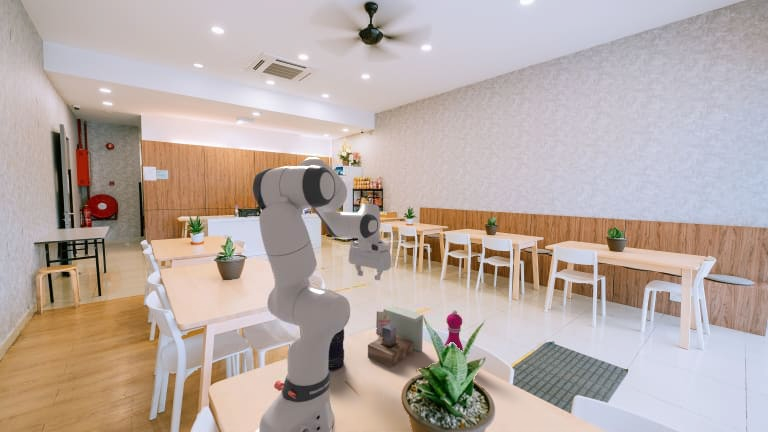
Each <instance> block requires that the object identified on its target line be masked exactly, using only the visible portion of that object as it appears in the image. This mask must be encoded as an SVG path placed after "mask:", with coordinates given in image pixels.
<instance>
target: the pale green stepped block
mask: <svg viewBox="0 0 768 432" xmlns="http://www.w3.org/2000/svg"><path fill="white" fill-rule="evenodd" d="M383 312H384V313H387V314H390V315H391V325H393V326H396V335H397V336H400V337H403V338H405V339H408V340H411V341H413V351H414V350H415V351H417V352H420V353H422V352H423V334H424V333H423V331H424V314H422V313H419V312H415V311H412V310H410V309H405V308H402V307H399V306H396V305H393V304H392V305H390V306H387V307H385V308H384V309H383Z"/></svg>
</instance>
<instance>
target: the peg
mask: <svg viewBox="0 0 768 432" xmlns="http://www.w3.org/2000/svg"><path fill="white" fill-rule="evenodd" d="M381 337H382V345H383V346H385V347H387V348H390V349H391V348H392V347H394V346H396V326H393V325H390V324H387V325H386V326H384V327H382V334H381Z"/></svg>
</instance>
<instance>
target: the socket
mask: <svg viewBox="0 0 768 432" xmlns="http://www.w3.org/2000/svg"><path fill="white" fill-rule="evenodd" d="M412 354H414V349H413V341H411V340H408V339H405V338H403V337H400V336H397V335H396V346H394V347H392V348H391V349H390V348H387V347H385V346H383V345H382V336H381V337H379V338H378V339H376V340H374V341H372V342H370V343H368V344H367V358H369V359H371V360H374V361H376V362H378V363H380V364H383V365H384V366H386V367H389V368H391V369H392V368H394V367H395V366H397V365H398V364H399V363H401V362H402V361H403V360H405V359H406V358H408V357H409V356H411V355H412Z"/></svg>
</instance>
